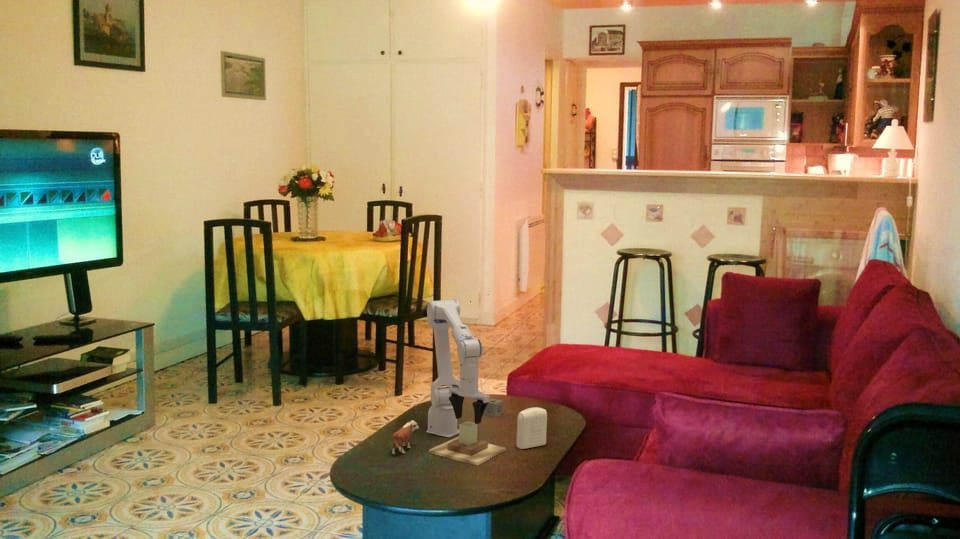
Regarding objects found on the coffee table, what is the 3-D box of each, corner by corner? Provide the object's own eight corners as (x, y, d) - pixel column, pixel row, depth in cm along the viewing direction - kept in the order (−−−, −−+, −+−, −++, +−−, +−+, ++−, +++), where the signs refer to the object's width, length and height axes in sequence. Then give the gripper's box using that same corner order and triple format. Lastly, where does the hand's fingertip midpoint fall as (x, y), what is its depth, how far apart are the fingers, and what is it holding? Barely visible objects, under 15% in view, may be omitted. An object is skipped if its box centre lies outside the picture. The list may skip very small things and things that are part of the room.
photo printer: (540, 441, 280) (541, 404, 279) (548, 445, 277) (549, 407, 275) (514, 446, 275) (515, 408, 273) (522, 450, 271) (523, 412, 270)
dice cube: (483, 415, 307) (483, 401, 307) (491, 411, 311) (491, 398, 311) (495, 417, 305) (495, 404, 304) (503, 414, 309) (503, 400, 308)
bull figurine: (420, 444, 275) (421, 419, 274) (399, 457, 263) (399, 431, 262) (408, 442, 277) (409, 417, 276) (387, 455, 265) (387, 429, 264)
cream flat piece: (428, 453, 267) (428, 443, 267) (458, 439, 280) (458, 430, 280) (477, 465, 257) (477, 455, 257) (505, 450, 271) (506, 441, 270)
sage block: (458, 442, 268) (459, 423, 267) (467, 439, 271) (467, 421, 271) (468, 445, 266) (469, 426, 265) (477, 442, 269) (477, 423, 268)
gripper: (495, 379, 264) (494, 422, 266) (459, 371, 273) (458, 413, 275) (481, 384, 259) (480, 427, 261) (444, 375, 268) (443, 418, 270)
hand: (468, 420), depth 268 cm, fingers open, 7 cm apart
